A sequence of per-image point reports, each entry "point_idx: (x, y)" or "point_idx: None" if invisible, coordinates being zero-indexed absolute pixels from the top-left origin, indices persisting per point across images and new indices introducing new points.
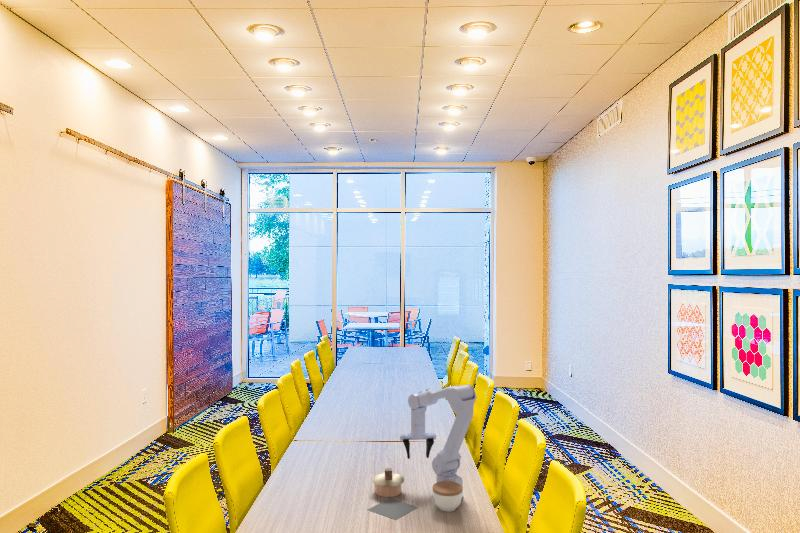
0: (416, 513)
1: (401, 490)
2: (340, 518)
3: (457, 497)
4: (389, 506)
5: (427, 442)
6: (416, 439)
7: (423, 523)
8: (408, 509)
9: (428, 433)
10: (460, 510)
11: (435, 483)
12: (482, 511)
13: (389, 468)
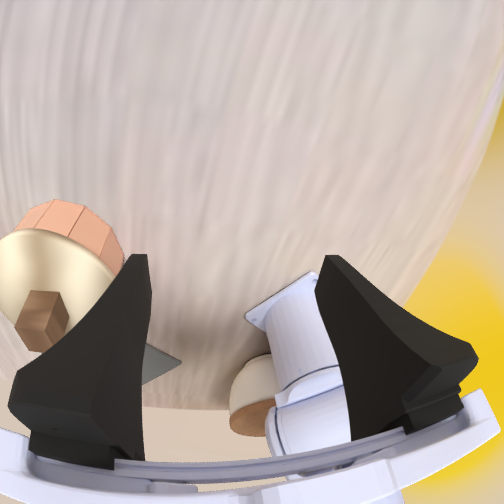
0: (173, 378)
1: (122, 259)
2: (5, 364)
3: None
4: None
5: (368, 413)
6: (243, 466)
7: (186, 403)
8: (151, 369)
9: (455, 457)
10: None
11: (248, 415)
12: None
13: (35, 331)
